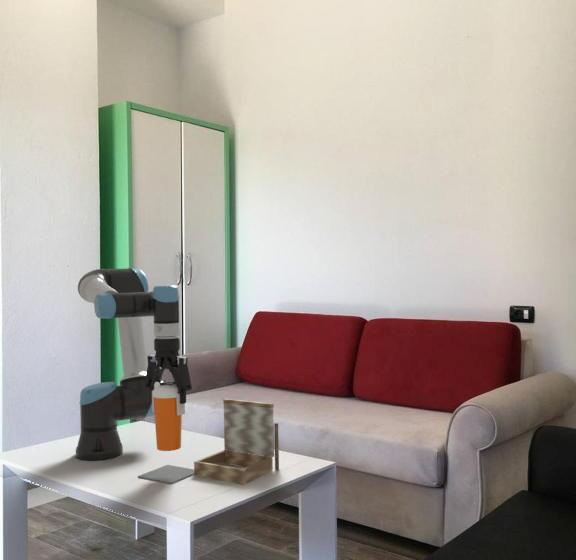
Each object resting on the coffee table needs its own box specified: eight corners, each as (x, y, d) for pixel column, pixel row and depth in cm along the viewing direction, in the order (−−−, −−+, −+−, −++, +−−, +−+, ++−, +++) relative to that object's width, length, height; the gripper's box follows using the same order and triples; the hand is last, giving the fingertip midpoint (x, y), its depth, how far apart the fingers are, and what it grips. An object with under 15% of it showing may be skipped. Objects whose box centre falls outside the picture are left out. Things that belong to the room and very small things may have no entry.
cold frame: (194, 475, 197) (193, 407, 197) (228, 460, 211) (227, 398, 211) (247, 485, 187) (246, 414, 187) (279, 469, 201) (278, 403, 201)
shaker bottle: (177, 452, 192) (176, 383, 192) (148, 451, 194) (147, 383, 194) (188, 444, 201) (187, 378, 201) (160, 443, 203) (159, 378, 203)
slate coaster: (137, 477, 196) (137, 476, 196) (167, 466, 207) (167, 464, 207) (171, 484, 189) (171, 482, 189) (200, 471, 200) (200, 470, 200)
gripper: (131, 337, 200) (132, 412, 200) (186, 339, 189) (188, 419, 189) (148, 335, 206) (150, 407, 206) (203, 337, 195) (205, 414, 195)
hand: (168, 413), depth 198 cm, fingers closed on shaker bottle, 9 cm apart
